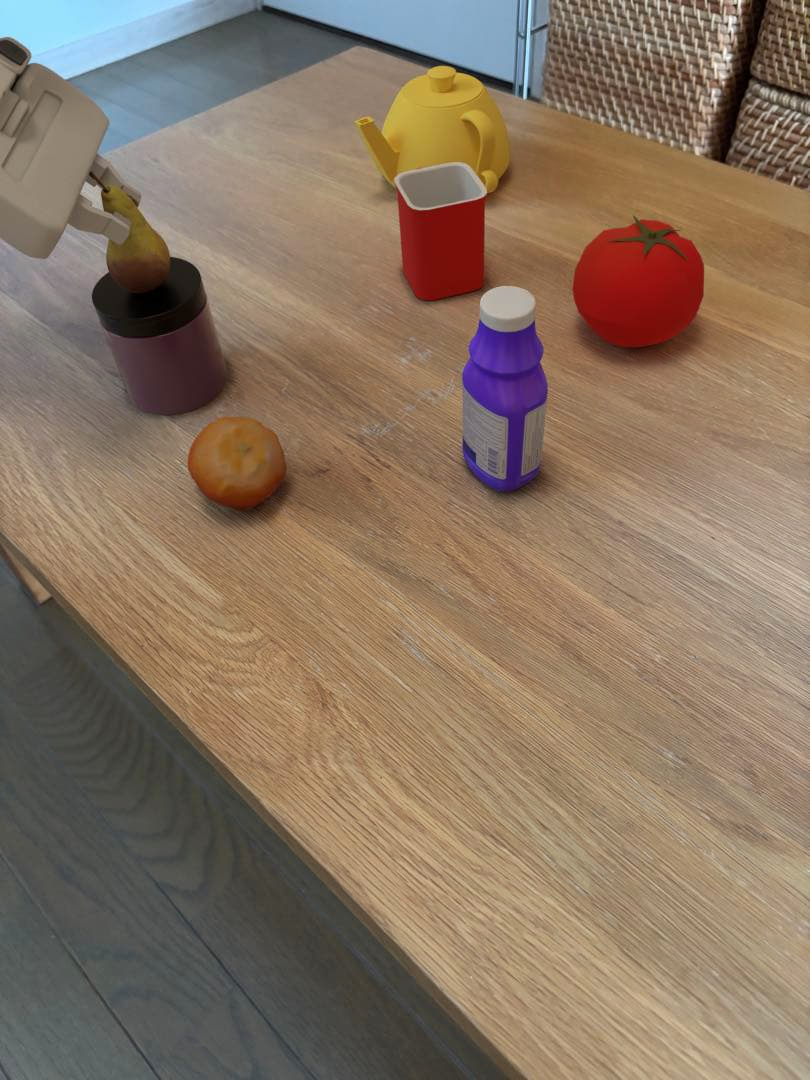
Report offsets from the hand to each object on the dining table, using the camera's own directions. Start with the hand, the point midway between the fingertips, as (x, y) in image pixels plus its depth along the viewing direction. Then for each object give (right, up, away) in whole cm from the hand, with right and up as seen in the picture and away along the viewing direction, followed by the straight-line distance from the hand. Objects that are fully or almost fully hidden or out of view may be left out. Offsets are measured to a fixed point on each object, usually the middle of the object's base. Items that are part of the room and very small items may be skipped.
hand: (132, 220), depth 73 cm
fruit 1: (0, -4, +5) cm, 7 cm away
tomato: (+46, -6, +15) cm, 49 cm away
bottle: (+32, -21, +3) cm, 38 cm away
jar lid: (0, -5, +5) cm, 7 cm away
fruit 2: (+9, -23, +3) cm, 25 cm away
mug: (+27, +3, +24) cm, 36 cm away
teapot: (+27, +18, +36) cm, 48 cm away
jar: (0, -11, +13) cm, 17 cm away
